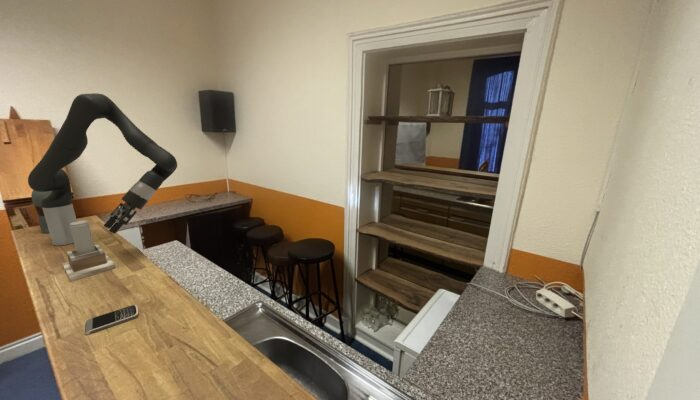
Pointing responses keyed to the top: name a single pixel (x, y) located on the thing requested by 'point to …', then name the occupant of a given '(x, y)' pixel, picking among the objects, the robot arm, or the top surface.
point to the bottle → (40, 208)
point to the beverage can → (82, 237)
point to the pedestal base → (88, 271)
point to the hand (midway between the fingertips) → (108, 229)
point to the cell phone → (110, 319)
